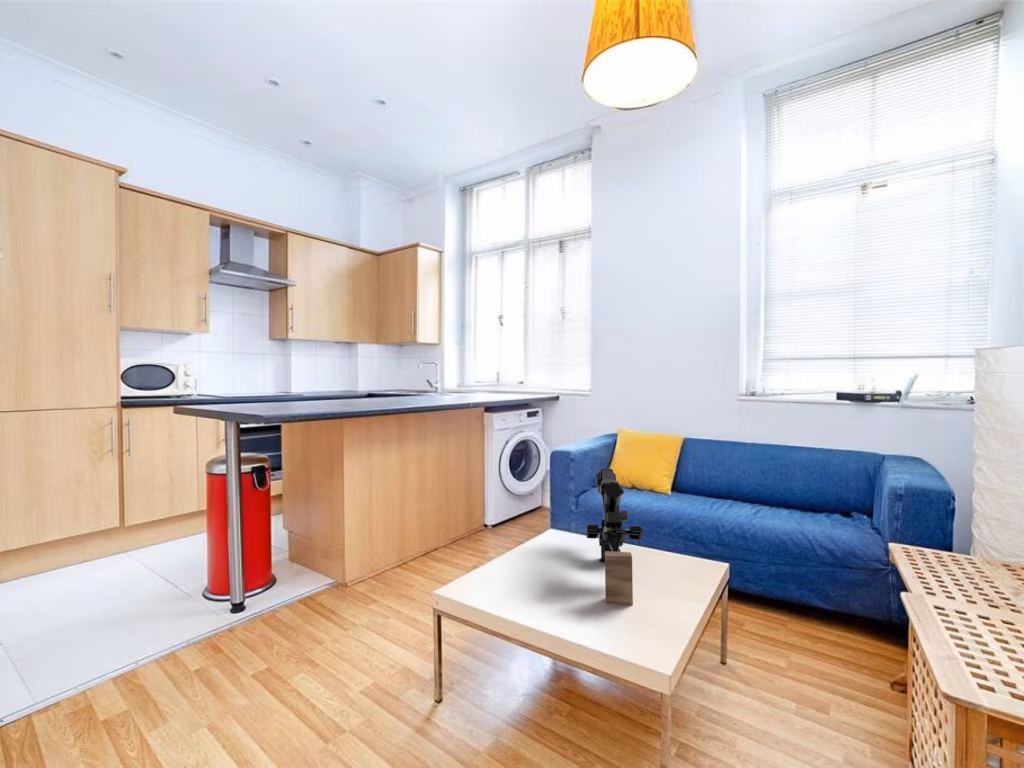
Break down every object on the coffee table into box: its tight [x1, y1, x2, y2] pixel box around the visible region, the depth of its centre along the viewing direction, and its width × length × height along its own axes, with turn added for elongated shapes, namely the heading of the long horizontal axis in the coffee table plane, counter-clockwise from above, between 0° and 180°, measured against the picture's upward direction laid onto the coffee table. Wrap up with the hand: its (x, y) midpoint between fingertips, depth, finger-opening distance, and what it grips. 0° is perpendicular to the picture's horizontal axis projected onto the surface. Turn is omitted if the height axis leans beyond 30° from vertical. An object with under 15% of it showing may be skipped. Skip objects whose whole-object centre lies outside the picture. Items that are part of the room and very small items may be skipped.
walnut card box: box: [604, 551, 634, 606], centre depth 138 cm, size 4×8×15 cm, turn 82°
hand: (615, 555), depth 148 cm, fingers closed
